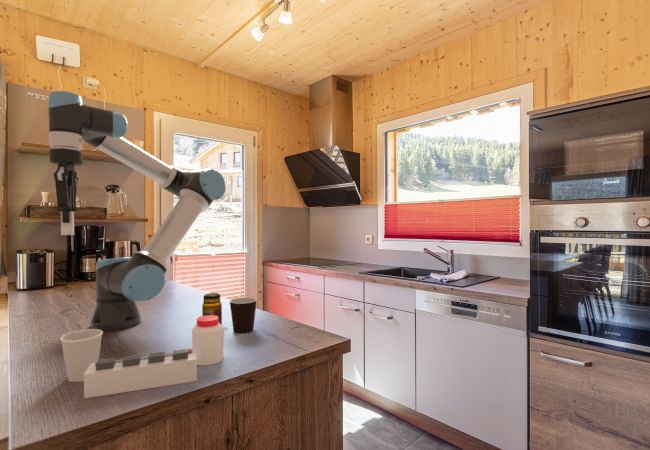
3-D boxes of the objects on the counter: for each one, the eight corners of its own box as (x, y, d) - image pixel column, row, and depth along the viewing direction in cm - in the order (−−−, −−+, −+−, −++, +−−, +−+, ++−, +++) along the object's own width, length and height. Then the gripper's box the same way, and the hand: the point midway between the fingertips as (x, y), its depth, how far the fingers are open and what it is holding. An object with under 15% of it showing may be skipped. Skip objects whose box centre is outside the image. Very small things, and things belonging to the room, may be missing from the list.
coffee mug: (250, 335, 113) (250, 304, 113) (225, 333, 115) (225, 302, 114) (264, 324, 124) (263, 296, 124) (240, 323, 126) (240, 294, 126)
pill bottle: (229, 357, 96) (229, 316, 95) (205, 368, 89) (205, 324, 89) (210, 351, 100) (209, 312, 99) (185, 361, 93) (185, 319, 93)
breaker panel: (91, 385, 80) (90, 357, 80) (196, 370, 88) (196, 344, 87) (84, 398, 74) (83, 367, 74) (197, 380, 82) (196, 353, 82)
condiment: (214, 335, 114) (214, 297, 113) (192, 332, 116) (191, 295, 116) (227, 328, 121) (227, 292, 120) (206, 325, 123) (205, 291, 123)
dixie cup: (83, 386, 80) (83, 341, 79) (51, 383, 81) (50, 339, 81) (111, 370, 88) (111, 329, 87) (81, 367, 89) (81, 327, 89)
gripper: (75, 146, 95) (76, 235, 95) (88, 154, 107) (89, 233, 108) (40, 144, 92) (42, 236, 93) (57, 152, 104) (59, 233, 105)
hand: (67, 234), depth 100 cm, fingers closed
